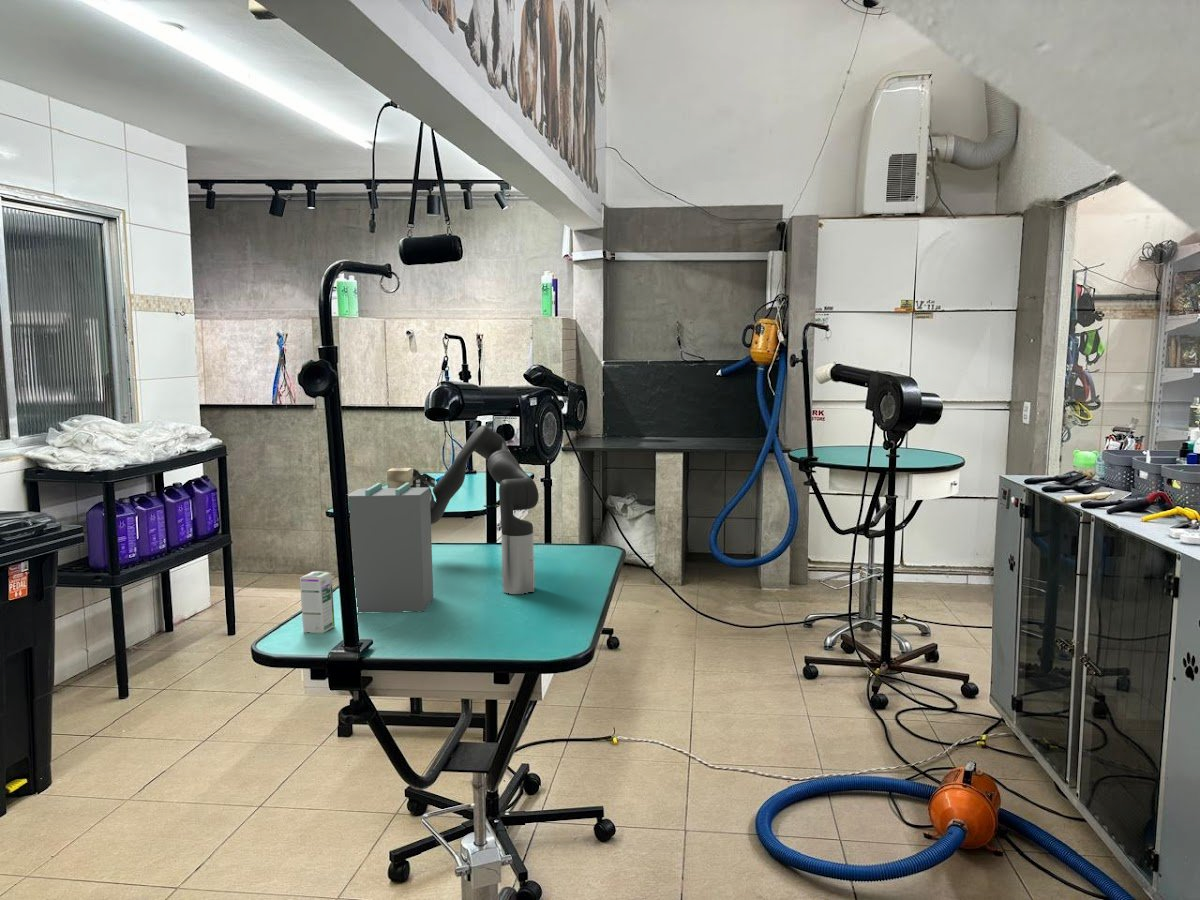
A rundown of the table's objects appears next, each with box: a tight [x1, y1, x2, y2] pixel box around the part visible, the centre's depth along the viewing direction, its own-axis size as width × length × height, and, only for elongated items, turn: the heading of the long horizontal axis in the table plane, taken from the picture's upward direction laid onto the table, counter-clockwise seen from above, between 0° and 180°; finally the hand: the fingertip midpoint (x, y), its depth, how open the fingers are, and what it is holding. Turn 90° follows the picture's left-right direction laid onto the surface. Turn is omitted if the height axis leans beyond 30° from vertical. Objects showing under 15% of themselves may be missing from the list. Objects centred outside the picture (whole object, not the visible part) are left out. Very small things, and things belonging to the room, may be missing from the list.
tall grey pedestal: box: [347, 482, 434, 614], centre depth 234 cm, size 20×14×34 cm
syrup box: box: [299, 570, 336, 634], centre depth 214 cm, size 6×6×14 cm
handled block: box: [386, 467, 415, 488], centre depth 255 cm, size 6×20×5 cm, turn 1°
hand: (408, 471), depth 259 cm, fingers closed on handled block, 3 cm apart
